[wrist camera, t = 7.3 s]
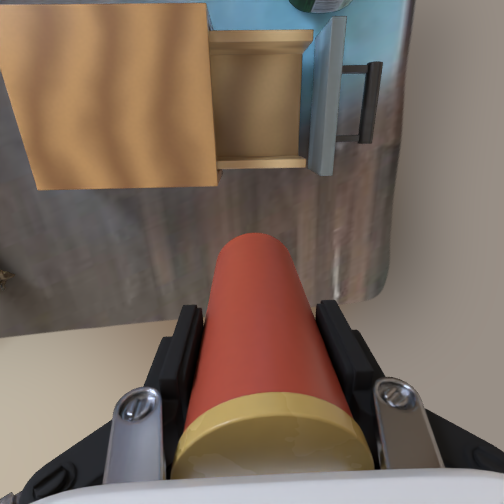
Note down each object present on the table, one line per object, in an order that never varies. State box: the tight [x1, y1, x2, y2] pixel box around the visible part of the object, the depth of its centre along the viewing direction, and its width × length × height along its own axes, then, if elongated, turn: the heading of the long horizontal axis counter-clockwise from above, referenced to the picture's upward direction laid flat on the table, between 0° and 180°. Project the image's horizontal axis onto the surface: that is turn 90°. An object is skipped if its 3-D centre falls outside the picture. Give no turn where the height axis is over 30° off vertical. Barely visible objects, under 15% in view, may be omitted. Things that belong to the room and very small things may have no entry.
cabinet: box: [0, 3, 223, 190], centre depth 28 cm, size 17×14×8 cm
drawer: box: [209, 16, 383, 176], centre depth 28 cm, size 20×13×6 cm, turn 91°
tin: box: [170, 233, 375, 480], centre depth 12 cm, size 5×5×12 cm
